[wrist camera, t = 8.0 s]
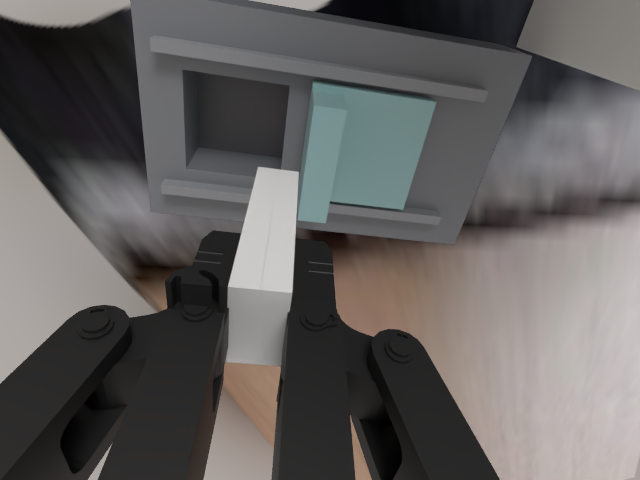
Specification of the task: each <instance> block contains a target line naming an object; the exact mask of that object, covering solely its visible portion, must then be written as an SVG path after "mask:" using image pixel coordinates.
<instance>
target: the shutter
mask: <svg viewBox="0 0 640 480" xmlns="http://www.w3.org/2000/svg"><path fill="white" fill-rule="evenodd" d="M435 105H436V101H435V100H434V99H433V98H428V97H421V96H415V95H408V94H402V93H395V92H389V91H382V90H376V89H369V88H363V87H356V86H349V85H343V84H336V83H330V82H323V81H317V80H313V81H312V88H311V96H310V103H309V110H308V118H307V125H306V132H305V140H304V147H303V155H302V162H301V169H300V177H299V184H298V220H300V221H309V222H318V223H326V219H327V214H328V208H329V203H330V201H332V202H340V203H349V204H357V205H366V206H374V207H383V208H392V209H400V210H403V209H404V205H405V202H406V199H407V196H408V193H409V189H410V186H411V183H412V180H413V176H414V173H415V170H416V167H417V164H418V160H419V157H420V154H421V151H422V147H423V144H424V141H425V138H426V134H427V131H428V128H429V125H430V122H431V118H432V115H433V112H434V109H435Z"/></svg>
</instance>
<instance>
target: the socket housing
mask: <svg viewBox="0 0 640 480" xmlns="http://www.w3.org/2000/svg"><path fill="white" fill-rule="evenodd" d="M130 1H131V12H132V22H133V33H134V43H135V53H136V64H137V74H138V85H139V95H140V105H141V116H142V126H143V137H144V147H145V157H146V168H147V178H148V189H149V199H150V209H151V212H155V213H164V214H173V215H183V216H192V217H201V218H210V219H220V220H229V221H238V222H244V221H245V217H246V213H247V209H248V205H249V201H250V197H251V193H252V189H253V185H254V181H255V177H256V173H257V169H258V167H264V168H272V169H280V170H288V171H296V172H299V177H300V169H301V162H302V155H303V147H304V140H305V132H306V125H307V118H308V110H309V103H310V96H311V88H312V81H313V80H317V81H323V82H330V83H336V84H343V85H349V86H356V87H363V88H369V89H376V90H382V91H389V92H395V93H402V94H408V95H415V96H421V97H428V98H433V99H434V100H435V101H436V105H435V109H434V112H433V115H432V118H431V122H430V125H429V128H428V131H427V134H426V138H425V141H424V144H423V147H422V151H421V154H420V157H419V160H418V164H417V167H416V170H415V173H414V176H413V180H412V183H411V186H410V189H409V193H408V196H407V199H406V202H405V205H404V209H403V210H400V209H392V208H383V207H374V206H366V205H357V204H349V203H340V202H332V201H330V203H329V208H328V214H327V219H326V223H318V222H309V221H300V220H298V197H297V215H296V228H303V229H312V230H321V231H331V232H340V233H349V234H358V235H368V236H377V237H386V238H395V239H405V240H414V241H423V242H432V243H442V244H451V245H454V244H455V242H456V239H457V237H458V235H459V232H460V230H461V227H462V225H463V223H464V220H465V218H466V215H467V213H468V211H469V208H470V206H471V203H472V201H473V199H474V196H475V194H476V191H477V189H478V187H479V184H480V182H481V179H482V177H483V174H484V172H485V170H486V167H487V165H488V162H489V160H490V158H491V155H492V153H493V150H494V148H495V146H496V143H497V141H498V138H499V136H500V134H501V131H502V129H503V126H504V124H505V122H506V119H507V117H508V114H509V112H510V109H511V107H512V105H513V102H514V100H515V97H516V95H517V93H518V90H519V88H520V85H521V83H522V81H523V78H524V76H525V73H526V71H527V69H528V66H529V64H530V61H531V59H532V57H533V56H531V55H528V54H526V53H523V52H520V51H518V50H515V49H512V48H510V47H507V46H504V45H501V44H497V43H491V42H485V41H479V40H474V39H468V38H462V37H456V36H451V35H445V34H439V33H433V32H428V31H422V30H416V29H410V28H404V27H399V26H393V25H387V24H381V23H376V22H370V21H364V20H358V19H353V18H347V17H341V16H335V15H329V14H324V13H318V12H312V11H306V10H301V9H295V8H289V7H283V6H277V5H272V4H266V3H260V2H254V1H248V0H130ZM298 184H299V178H298Z"/></svg>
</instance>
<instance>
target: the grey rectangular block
mask: <svg viewBox="0 0 640 480" xmlns="http://www.w3.org/2000/svg"><path fill="white" fill-rule="evenodd" d="M516 47H518V48H521V49H523V50H526V51H529V52H532V53H535V54H537V55H540V56H543V57H546V58H549V59H552V60H554V61H557V62H560V63H563V64H566V65H568V66H571V67H574V68H577V69H580V70H582V71H585V72H588V73H591V74H594V75H596V76H599V77H602V78H605V79H608V80H610V81H613V82H616V83H619V84H622V85H624V86H627V87H630V88H633V89H636V90H638V91H640V0H534V1H533V4H532V7H531V9H530V12H529V14H528V17H527V19H526V22H525V25H524V27H523V30H522V32H521V35H520V37H519V40H518V43H517V45H516Z"/></svg>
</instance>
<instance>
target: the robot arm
mask: <svg viewBox="0 0 640 480" xmlns="http://www.w3.org/2000/svg"><path fill="white" fill-rule="evenodd" d="M298 178H299V172H296V171H288V170H280V169H272V168H264V167H258V169H257V173H256V177H255V181H254V185H253V189H252V193H251V197H250V201H249V205H248V209H247V213H246V217H245V221H244V225H243V229H242V233H241V234H240V233H231V232H222V231H212V232H211V233H209V234H208V235H207V236H206V237H205V238H203V239H202V242H201V244H200V247H199V249H198V252H197V254H196V257H195V261H194V262H193V265H192V266H190V267H186V268H183V269H179V270H178V271H176V272H174V273H172V274H171V275H170V276H169V277H168V279H167V280H166V281H165V286H166V296H167V307H168V308H167V309H165V310H163V311H161V312H158V313H155V314H150V315H145V316H138V317H132V318H129V317H128V315H127V314H126V312H125V311H124V310H122V309H120V308H118V307H116V306H108V305H100V306H93V307H89V308H87V309H84V310H81V311H79V312H78V313H76V314H75V315H73V316H72V317H71V318H69V319H68V320H67V321H66V322H65V323H64V324H63V325H62V326H61V327H59V329H57V330H56V331H55V332H54V333H53V334H52V335H51V336H50V337H49V338H48V339H47V340H46V341H45V342H44V343H43V344H42V345H41V346H40V347H38V348H37V349H36V350H35V351H34V352H33V353H32V354H31V355H30V356H29V357H28V358H27V359H26V360H25V361H24V362H23V363H22V364H21V365H20V366H18V367H17V368H16V369H15V370H14V371H13V372H12V373H11V374H10V375H9V376H8V377H7V378H6V379H5V380H4V381H3V382H2V383H1V384H0V480H88V478H89V477H90V475H91V474H92V472H93V471H94V469H95V468H96V466H97V465H98V463H99V462H100V460H101V459H102V457H103V456H104V454H105V453H106V451H107V450H108V448H109V447H110V445H111V444H112V446H111V448H110V451H109V453H108V456H107V458H106V461H105V463H104V466H103V468H102V471H101V473H100V476H99V478H98V480H203V478H204V473H205V468H206V464H207V459H208V454H209V449H210V444H211V439H212V434H213V429H214V424H215V419H216V414H217V409H218V404H219V400H220V395H221V390H222V385H223V374H224V364H225V359H226V362H232V363H245V364H258V365H271V366H281V374H280V381H279V387H278V394H277V402H278V403H277V416H276V429H275V442H274V456H273V468H272V480H355V469H354V458H353V446H352V434H351V422H350V415H351V419H352V421H353V424H354V427H355V430H356V433H357V436H358V439H359V442H360V445H361V448H362V451H363V454H364V457H365V460H366V463H367V466H368V469H369V472H370V475H371V478H372V480H500V479H499V477H498V476H497V474H496V472H495V470H494V469H493V467H492V465H491V463H490V462H489V460H488V458H487V456H486V455H485V453H484V451H483V449H482V448H481V446H480V444H479V442H478V441H477V439H476V437H475V435H474V434H473V432H472V430H471V428H470V427H469V425H468V423H467V422H466V420H465V418H464V416H463V415H462V413H461V411H460V409H459V408H458V406H457V404H456V402H455V401H454V399H453V397H452V395H451V394H450V392H449V390H448V388H447V387H446V385H445V383H444V381H443V380H442V378H441V376H440V374H439V373H438V371H437V369H436V368H435V366H434V364H433V362H432V361H431V359H430V357H429V355H428V354H427V352H426V350H425V348H424V347H423V346H422V344H421V343H420V342H419V341H418V339H416V338H415V337H413V336H412V335H410V334H409V333H406V332H403V331H401V330H395V329H387V330H384V331H380V332H379V333H378V334H377V335H375V336H374V337H372V336H369V335H366V334H363V333H361V332H358V331H356V330H354V329H352V328H350V327H349V326H348V325H346V324H345V323H344V322H343V321H342V320H341V319H340V316H339V315H338V313H337V309H336V300H335V287H334V275H333V260H332V252H331V250H330V249H329V247H328V246H327V244H326V243H325V242H323V241H314V240H305V239H295V234H296V215H297V197H298Z"/></svg>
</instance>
